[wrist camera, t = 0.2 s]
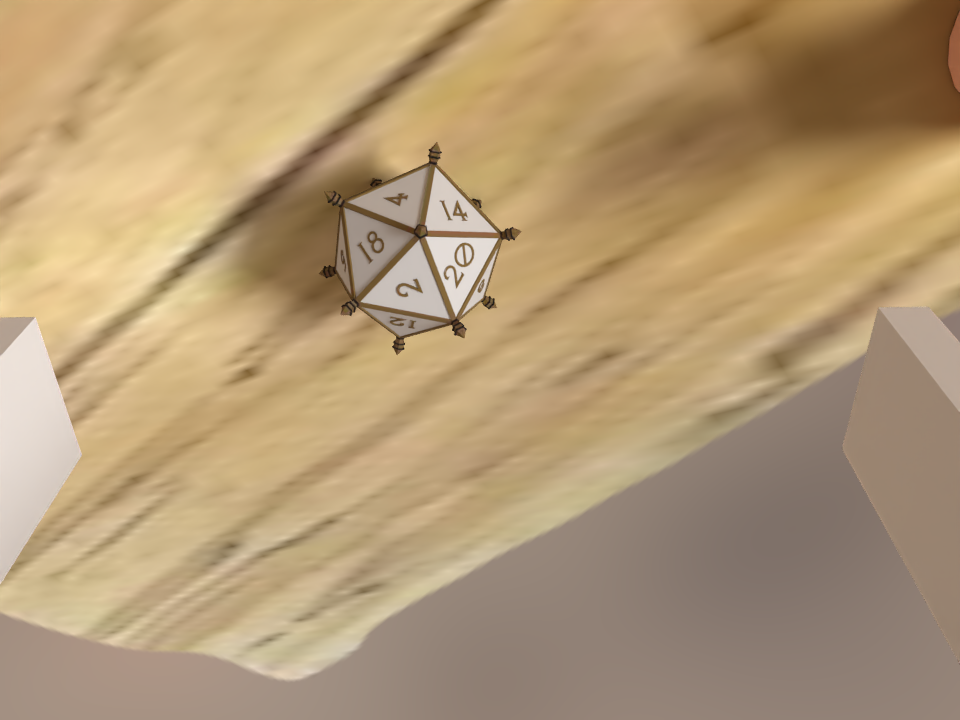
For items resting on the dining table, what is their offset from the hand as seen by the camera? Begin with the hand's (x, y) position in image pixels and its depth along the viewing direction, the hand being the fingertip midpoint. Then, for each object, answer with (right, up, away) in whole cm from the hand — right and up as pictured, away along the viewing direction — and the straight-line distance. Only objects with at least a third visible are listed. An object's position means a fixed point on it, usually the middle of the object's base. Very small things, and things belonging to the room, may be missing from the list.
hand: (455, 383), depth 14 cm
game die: (-2, +7, +29) cm, 30 cm away
